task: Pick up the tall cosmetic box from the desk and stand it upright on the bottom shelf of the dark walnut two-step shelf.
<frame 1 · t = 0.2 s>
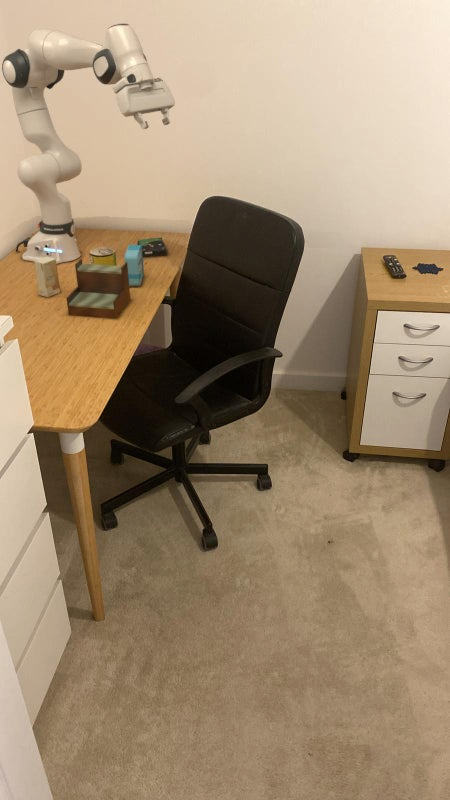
hand: (156, 126, 197), 54 cm above the table, tool tilted 30°, fingers open, 8 cm apart
cosmetic box: (50, 294, 225), on the table
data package: (135, 282, 234), on the table
beverage can: (105, 284, 232), on the table
disk drive: (152, 251, 262), on the table
step shelf: (100, 307, 215), on the table
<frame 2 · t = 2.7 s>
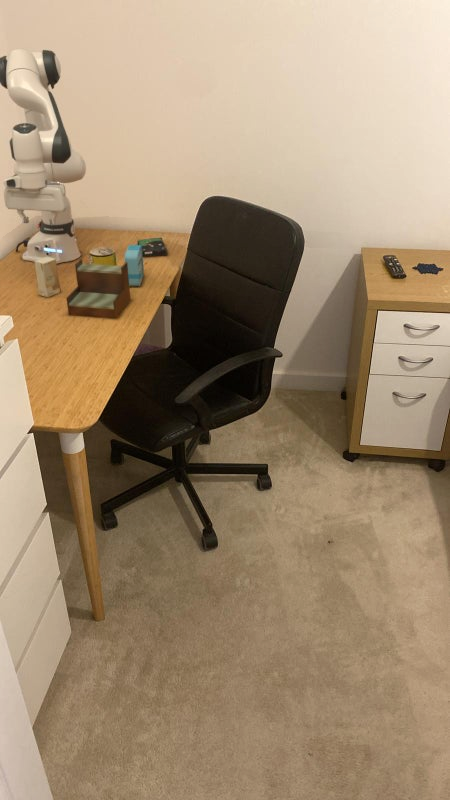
hand: (39, 223, 211), 25 cm above the table, tool pointing down, fingers open, 8 cm apart
nothing on the table moved.
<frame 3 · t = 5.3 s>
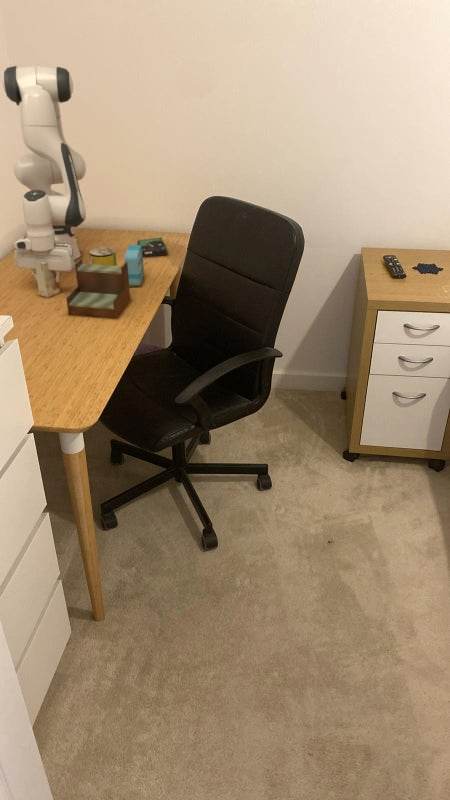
hand: (48, 281, 222), 5 cm above the table, tool pointing down, fingers closed on cosmetic box, 5 cm apart
cosmetic box: (50, 294, 225), on the table, touching gripper
everything else where it was.
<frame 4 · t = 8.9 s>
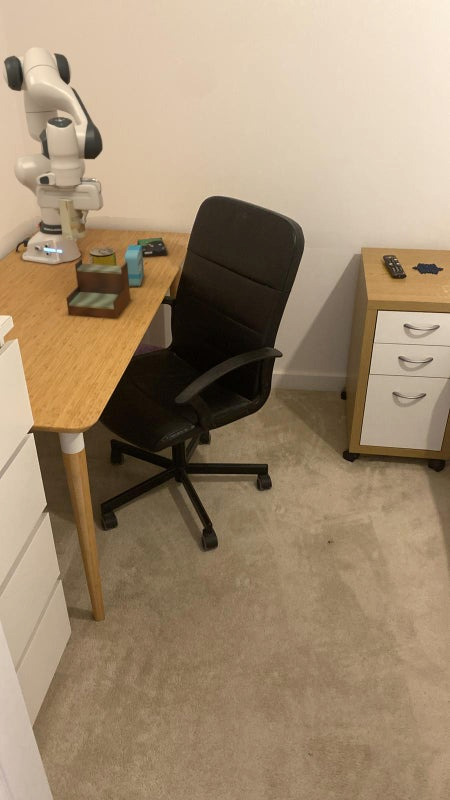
hand: (73, 223, 201), 28 cm above the table, tool pointing down, fingers closed on cosmetic box, 5 cm apart
cosmetic box: (74, 238, 203), point 23 cm above the table, touching gripper
everything else where it was.
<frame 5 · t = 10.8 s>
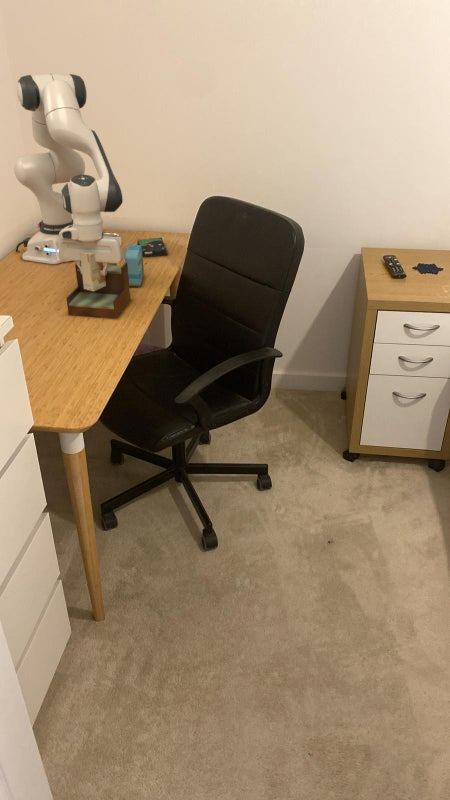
hand: (93, 274, 206), 13 cm above the table, tool pointing down, fingers closed on cosmetic box, 5 cm apart
cosmetic box: (95, 288, 208), point 8 cm above the table, touching gripper
everything else where it was.
when the fingers open (8 cm above the table, at t = 12.3 s): cosmetic box stays where it is, resting on step shelf.
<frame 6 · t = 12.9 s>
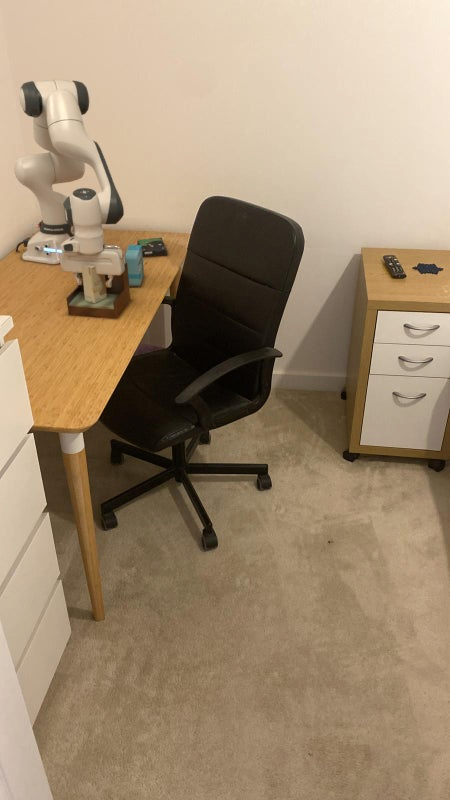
hand: (94, 285, 208), 9 cm above the table, tool pointing down, fingers open, 8 cm apart
cosmetic box: (96, 299, 211), point 4 cm above the table, touching step shelf
everything else where it was.
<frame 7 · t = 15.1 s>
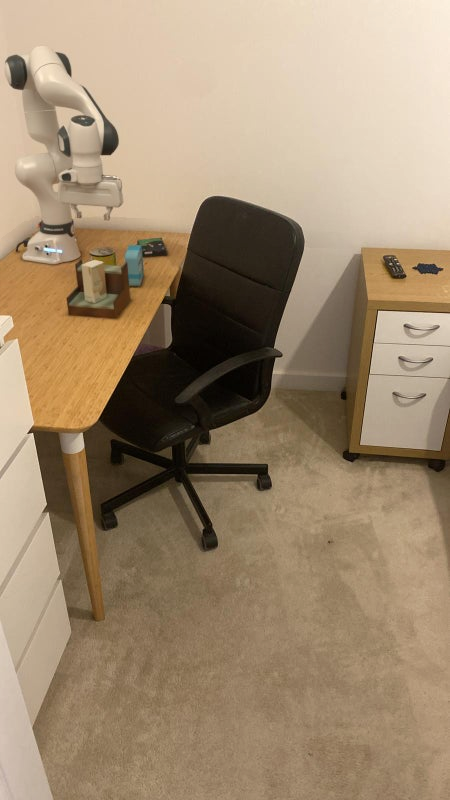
hand: (92, 218, 205), 28 cm above the table, tool pointing down, fingers open, 8 cm apart
nothing on the table moved.
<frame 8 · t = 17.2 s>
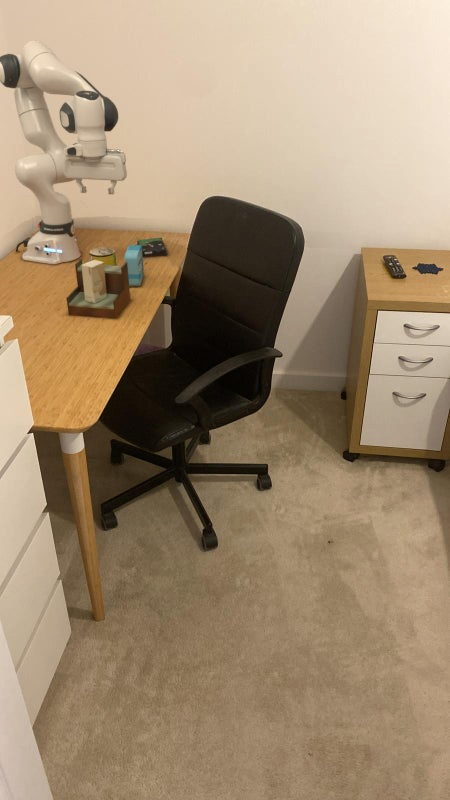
hand: (97, 193, 211), 33 cm above the table, tool pointing down, fingers open, 8 cm apart
nothing on the table moved.
at the end: cosmetic box inside the target area on the step shelf (0.2 cm from its centre), point 3.8 cm above the step shelf's base; cosmetic box tilted 0°; the gripper is holding nothing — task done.
